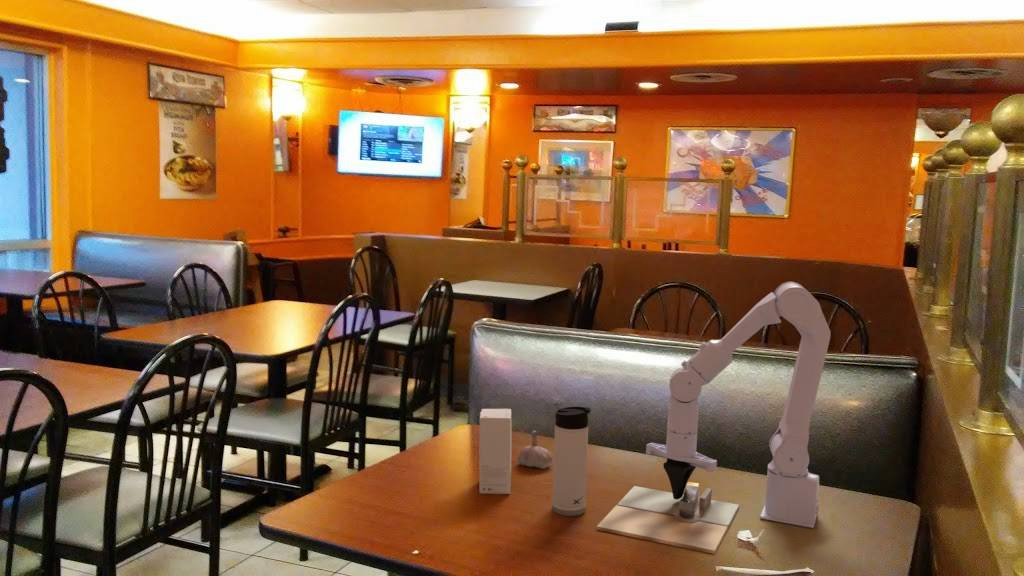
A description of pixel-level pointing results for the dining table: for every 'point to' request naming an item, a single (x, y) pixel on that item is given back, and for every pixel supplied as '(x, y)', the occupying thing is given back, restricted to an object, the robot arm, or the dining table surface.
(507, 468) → the skincare box
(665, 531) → the door board
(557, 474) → the travel mug
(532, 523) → the dining table surface
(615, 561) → the dining table surface
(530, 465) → the garlic bulb
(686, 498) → the bar
